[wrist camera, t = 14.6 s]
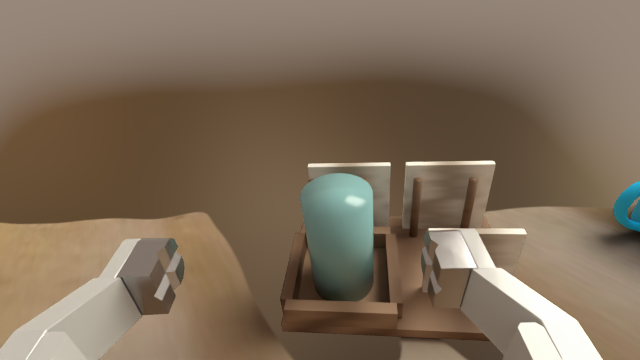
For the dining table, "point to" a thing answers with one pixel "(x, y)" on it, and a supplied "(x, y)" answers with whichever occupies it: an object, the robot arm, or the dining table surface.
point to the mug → (623, 203)
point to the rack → (402, 254)
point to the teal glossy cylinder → (340, 235)
